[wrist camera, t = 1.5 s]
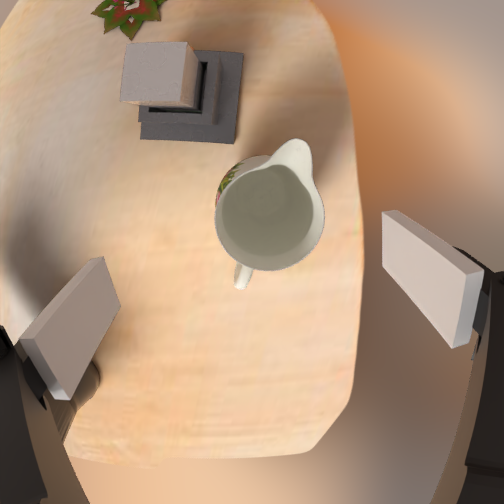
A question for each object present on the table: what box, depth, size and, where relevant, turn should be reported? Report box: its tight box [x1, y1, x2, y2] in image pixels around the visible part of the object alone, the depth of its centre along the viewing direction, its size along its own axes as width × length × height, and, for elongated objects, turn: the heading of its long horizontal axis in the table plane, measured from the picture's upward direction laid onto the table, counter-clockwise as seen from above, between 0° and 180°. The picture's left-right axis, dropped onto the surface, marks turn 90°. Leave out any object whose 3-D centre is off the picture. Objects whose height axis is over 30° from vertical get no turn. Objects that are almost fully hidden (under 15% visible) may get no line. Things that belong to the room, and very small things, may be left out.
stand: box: [138, 47, 244, 144], centre depth 33 cm, size 12×12×10 cm
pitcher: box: [215, 138, 325, 290], centre depth 36 cm, size 11×18×14 cm, turn 161°
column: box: [120, 42, 207, 113], centre depth 28 cm, size 5×5×18 cm
